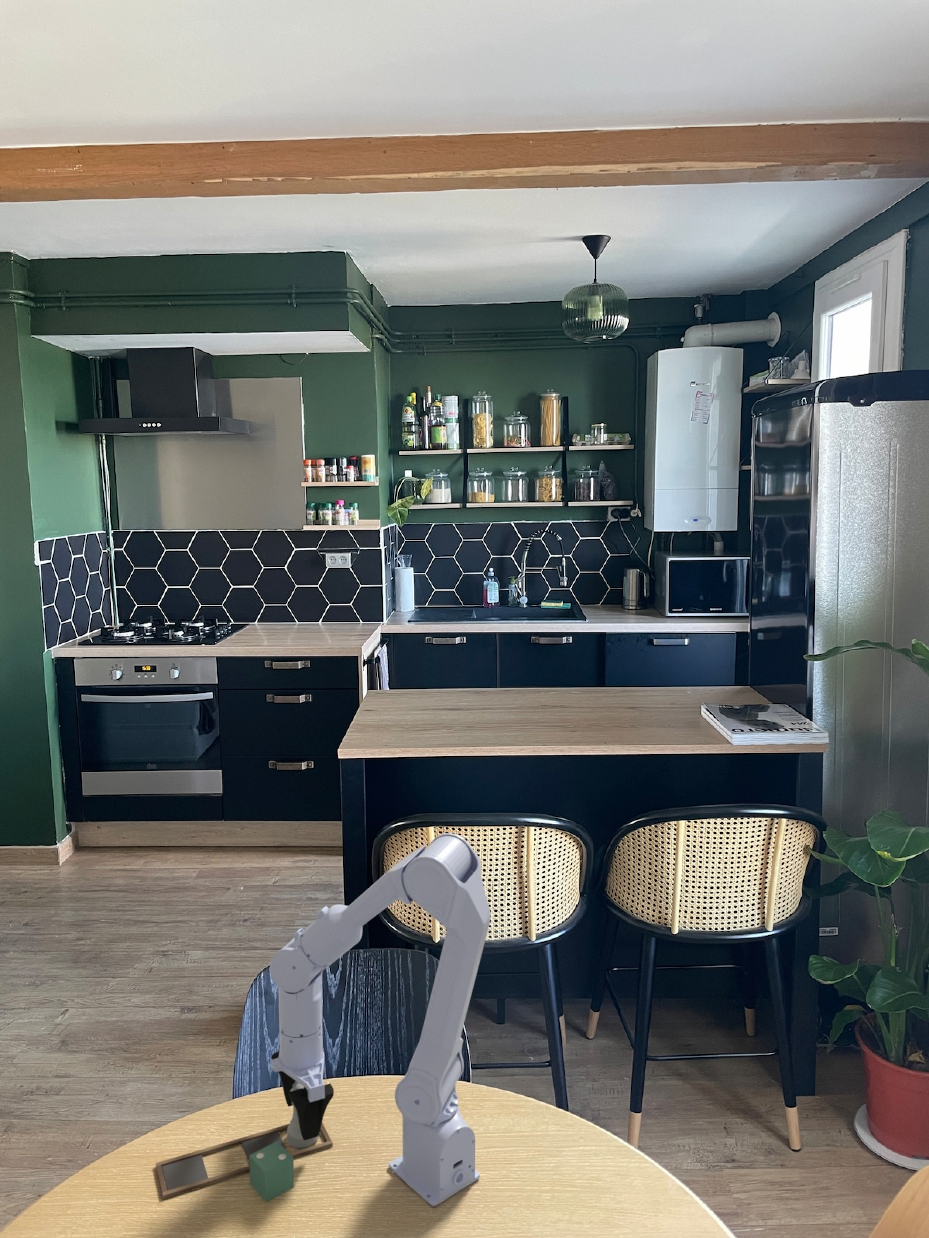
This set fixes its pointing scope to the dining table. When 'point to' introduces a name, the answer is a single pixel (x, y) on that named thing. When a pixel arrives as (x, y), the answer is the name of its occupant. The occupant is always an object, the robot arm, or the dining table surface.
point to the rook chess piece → (297, 1128)
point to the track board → (190, 1167)
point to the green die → (271, 1171)
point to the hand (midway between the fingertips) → (302, 1119)
